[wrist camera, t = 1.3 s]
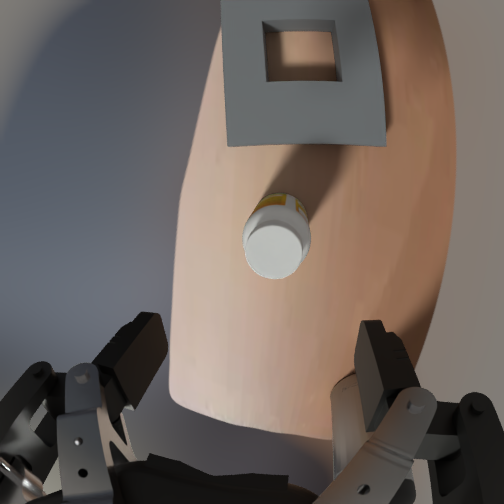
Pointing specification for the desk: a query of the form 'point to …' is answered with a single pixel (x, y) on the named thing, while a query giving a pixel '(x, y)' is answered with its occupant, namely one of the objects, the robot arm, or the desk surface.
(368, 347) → the robot arm
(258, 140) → the socket holder
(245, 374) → the desk surface
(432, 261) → the desk surface
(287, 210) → the supplement bottle
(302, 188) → the desk surface
